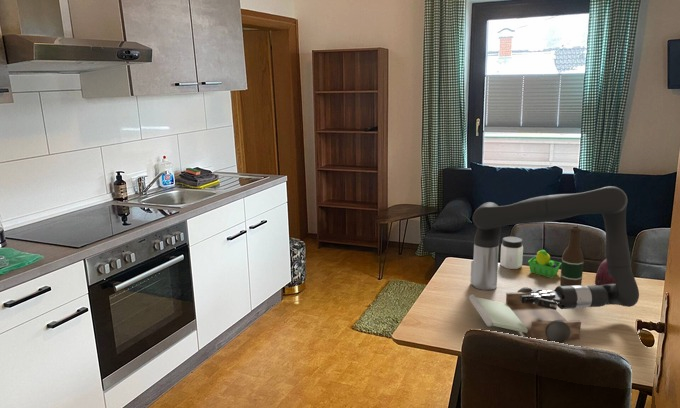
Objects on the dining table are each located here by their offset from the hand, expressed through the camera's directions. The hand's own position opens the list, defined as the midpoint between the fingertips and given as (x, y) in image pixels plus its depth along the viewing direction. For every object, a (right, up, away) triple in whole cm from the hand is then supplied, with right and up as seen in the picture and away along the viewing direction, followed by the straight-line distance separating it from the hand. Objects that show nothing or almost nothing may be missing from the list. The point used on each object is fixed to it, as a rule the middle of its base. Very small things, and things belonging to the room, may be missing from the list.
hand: (521, 299), depth 166 cm
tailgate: (-1, -6, +2) cm, 7 cm away
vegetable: (+46, 0, +32) cm, 56 cm away
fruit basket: (+25, +2, +43) cm, 50 cm away
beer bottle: (+30, -1, +30) cm, 42 cm away
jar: (+15, +4, +53) cm, 55 cm away
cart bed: (+7, -8, +3) cm, 11 cm away
